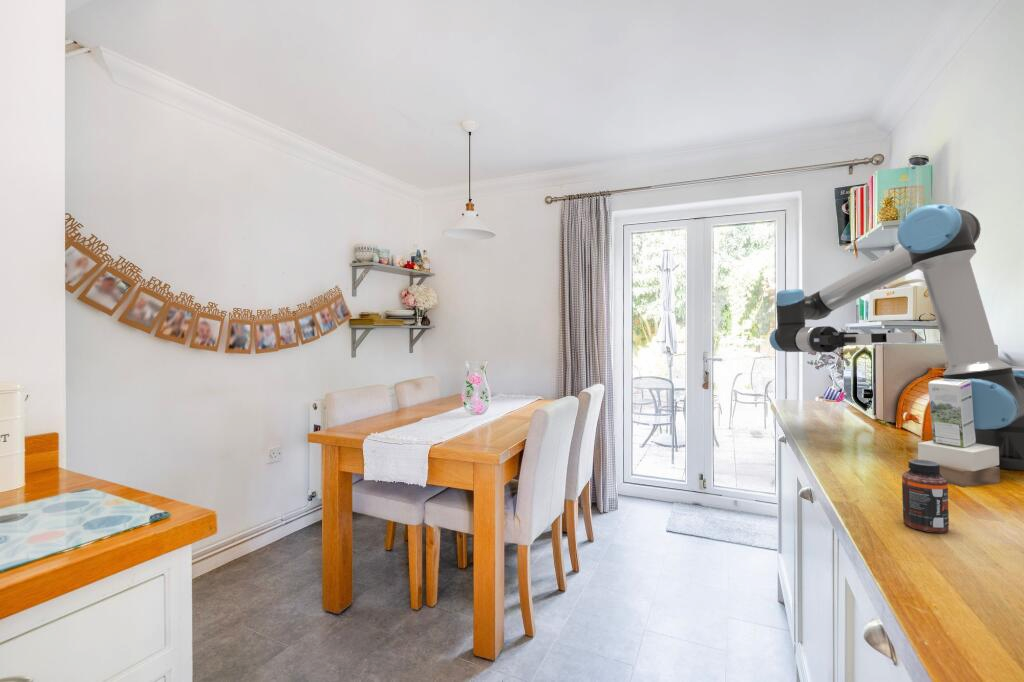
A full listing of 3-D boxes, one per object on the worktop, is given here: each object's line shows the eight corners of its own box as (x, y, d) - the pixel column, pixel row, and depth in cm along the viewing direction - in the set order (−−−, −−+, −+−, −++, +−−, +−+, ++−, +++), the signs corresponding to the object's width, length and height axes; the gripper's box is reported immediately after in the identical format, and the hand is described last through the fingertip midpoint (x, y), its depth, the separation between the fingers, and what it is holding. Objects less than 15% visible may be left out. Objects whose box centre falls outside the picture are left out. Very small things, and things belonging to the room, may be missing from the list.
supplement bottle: (953, 537, 76) (951, 468, 76) (906, 530, 79) (904, 464, 79) (944, 524, 81) (942, 459, 81) (900, 518, 84) (898, 456, 84)
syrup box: (976, 442, 104) (972, 379, 104) (964, 448, 102) (959, 383, 101) (944, 437, 110) (940, 377, 109) (931, 443, 107) (926, 381, 106)
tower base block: (949, 472, 111) (948, 455, 110) (1000, 485, 101) (999, 467, 101) (914, 476, 109) (914, 459, 109) (962, 489, 99) (962, 471, 99)
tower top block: (943, 454, 112) (942, 438, 112) (999, 464, 102) (998, 446, 102) (918, 460, 108) (917, 443, 108) (973, 471, 99) (973, 452, 99)
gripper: (853, 350, 138) (931, 351, 118) (782, 354, 133) (851, 355, 112) (852, 325, 138) (930, 321, 118) (781, 328, 133) (850, 324, 112)
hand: (892, 338), depth 115 cm, fingers open, 13 cm apart
